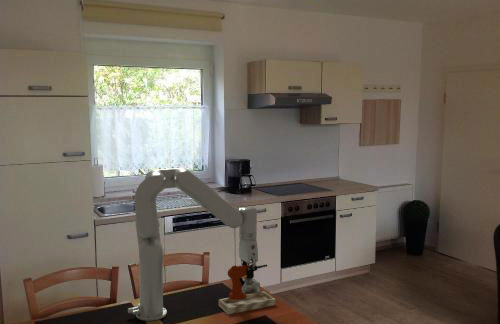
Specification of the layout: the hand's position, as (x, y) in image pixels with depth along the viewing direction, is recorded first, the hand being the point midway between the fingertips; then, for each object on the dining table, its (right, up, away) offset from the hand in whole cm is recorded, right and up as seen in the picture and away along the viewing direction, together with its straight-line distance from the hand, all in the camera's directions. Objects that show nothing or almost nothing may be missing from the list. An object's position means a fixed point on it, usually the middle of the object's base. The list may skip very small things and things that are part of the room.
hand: (247, 275), depth 201 cm
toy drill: (0, -10, +1) cm, 10 cm away
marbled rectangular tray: (0, -13, +1) cm, 13 cm away
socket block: (0, -12, +14) cm, 19 cm away
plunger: (0, -12, +14) cm, 19 cm away
